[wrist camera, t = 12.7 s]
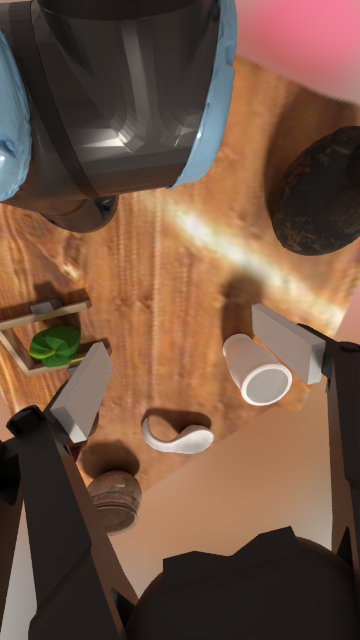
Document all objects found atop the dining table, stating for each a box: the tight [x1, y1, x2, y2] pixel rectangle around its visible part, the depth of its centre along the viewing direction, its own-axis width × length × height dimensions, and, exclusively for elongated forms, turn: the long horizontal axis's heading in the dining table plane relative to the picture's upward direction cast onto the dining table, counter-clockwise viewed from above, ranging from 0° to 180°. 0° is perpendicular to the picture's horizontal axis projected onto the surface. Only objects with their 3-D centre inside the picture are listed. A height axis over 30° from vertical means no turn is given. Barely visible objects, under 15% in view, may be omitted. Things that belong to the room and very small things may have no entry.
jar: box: [223, 334, 292, 406], centre depth 42 cm, size 11×10×15 cm
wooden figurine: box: [66, 411, 99, 463], centre depth 45 cm, size 7×6×15 cm
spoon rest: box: [141, 418, 214, 454], centre depth 56 cm, size 24×12×7 cm, turn 68°
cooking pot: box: [87, 469, 142, 536], centre depth 60 cm, size 25×19×12 cm
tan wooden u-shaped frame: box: [0, 297, 112, 377], centre depth 41 cm, size 18×20×4 cm
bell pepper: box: [28, 325, 81, 368], centre depth 38 cm, size 8×8×10 cm
